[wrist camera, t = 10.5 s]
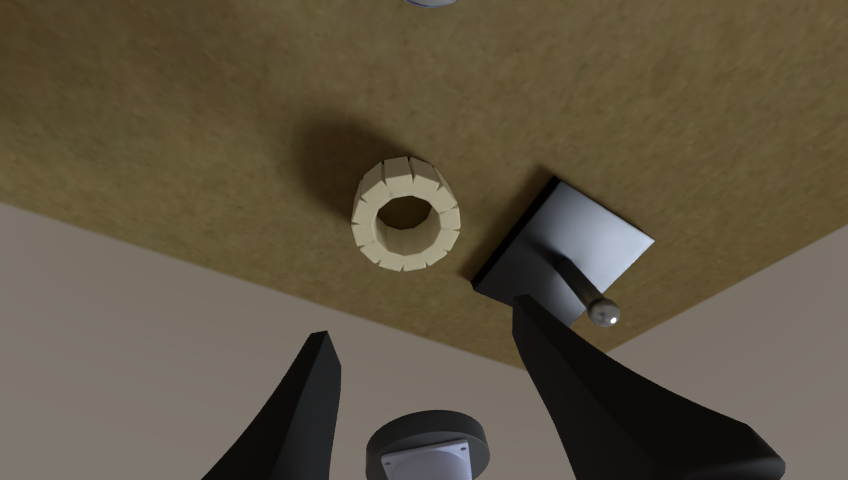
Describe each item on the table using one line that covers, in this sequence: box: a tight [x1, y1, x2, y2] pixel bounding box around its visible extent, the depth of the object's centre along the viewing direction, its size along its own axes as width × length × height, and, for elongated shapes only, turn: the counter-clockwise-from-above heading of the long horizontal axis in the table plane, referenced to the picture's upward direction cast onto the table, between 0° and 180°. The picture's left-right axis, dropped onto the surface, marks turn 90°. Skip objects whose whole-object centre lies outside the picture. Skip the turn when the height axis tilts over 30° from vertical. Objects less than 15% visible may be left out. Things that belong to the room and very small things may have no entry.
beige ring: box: [351, 157, 460, 271], centre depth 18 cm, size 6×6×3 cm
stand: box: [471, 175, 655, 327], centre depth 20 cm, size 9×9×6 cm
